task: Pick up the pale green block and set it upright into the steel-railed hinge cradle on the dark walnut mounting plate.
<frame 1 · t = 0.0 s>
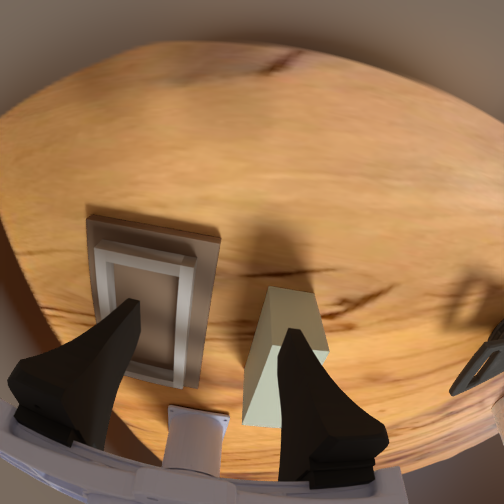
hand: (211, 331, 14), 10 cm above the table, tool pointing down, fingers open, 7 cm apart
white cup: (502, 400, 39), on the table
mounting plate: (149, 313, 26), on the table
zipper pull: (499, 331, 29), on the table
pale green block: (275, 335, 27), on the table
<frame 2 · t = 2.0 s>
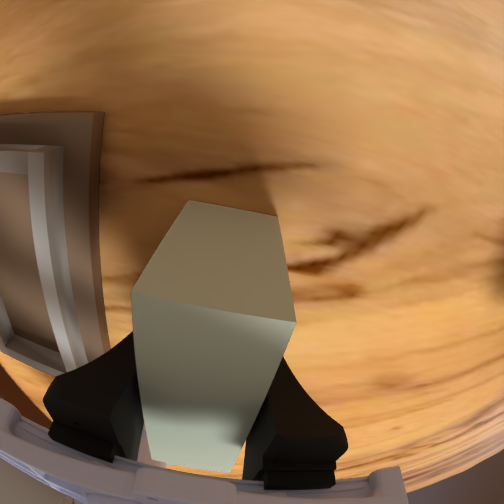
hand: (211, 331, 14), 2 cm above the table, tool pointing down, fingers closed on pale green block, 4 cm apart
mounting plate: (29, 262, 14), on the table
pale green block: (215, 306, 15), on the table, touching gripper
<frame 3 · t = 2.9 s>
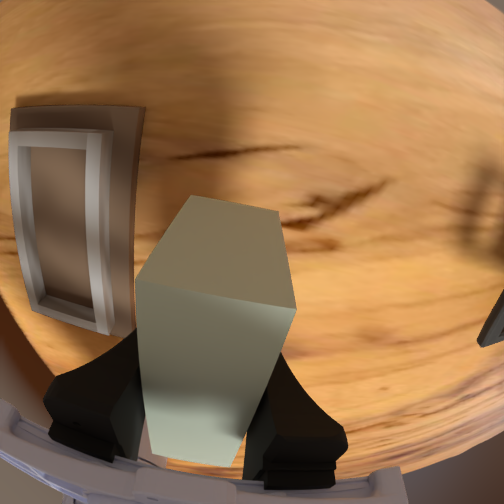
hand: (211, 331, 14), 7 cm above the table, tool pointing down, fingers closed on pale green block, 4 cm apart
mounting plate: (70, 226, 19), on the table
pale green block: (216, 300, 16), point 5 cm above the table, touching gripper
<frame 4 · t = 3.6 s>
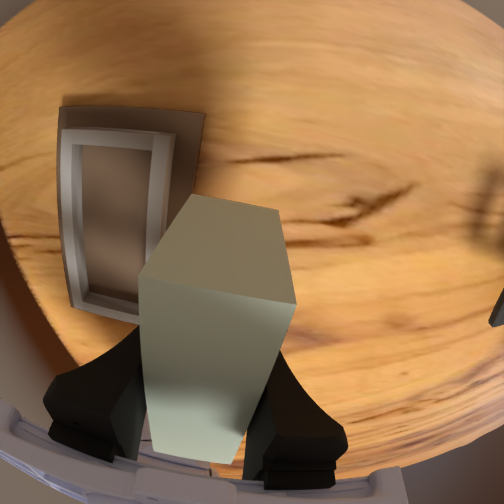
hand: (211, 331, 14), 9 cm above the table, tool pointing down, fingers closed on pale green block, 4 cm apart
mounting plate: (120, 224, 21), on the table
pale green block: (217, 298, 16), point 7 cm above the table, touching gripper
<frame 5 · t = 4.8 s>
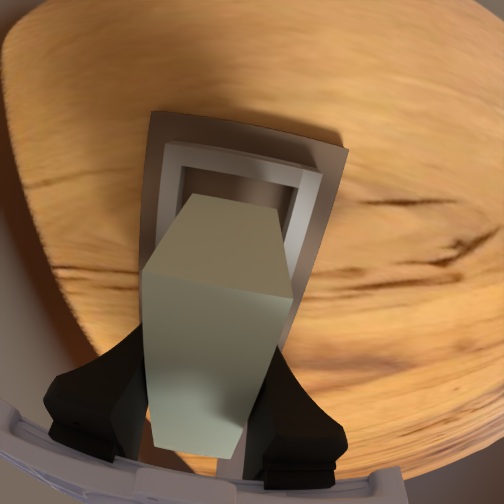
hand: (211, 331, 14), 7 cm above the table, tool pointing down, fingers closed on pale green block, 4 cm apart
mounting plate: (223, 263, 20), on the table
pale green block: (217, 296, 16), point 4 cm above the table, touching gripper
when the fingers open (4 cm above the table, at t = 5.7 s): pale green block stays where it is, resting on mounting plate.
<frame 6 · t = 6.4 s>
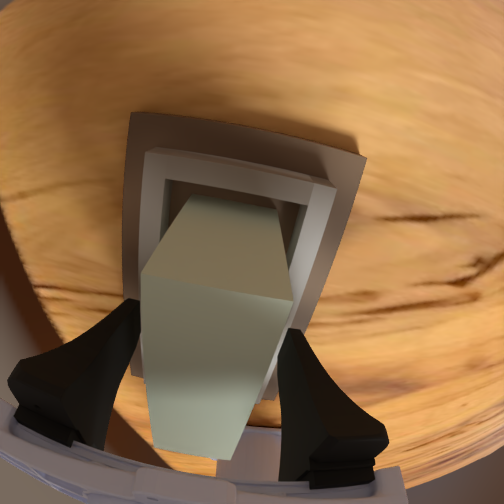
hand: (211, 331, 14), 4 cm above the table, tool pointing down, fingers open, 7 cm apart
mounting plate: (218, 287, 17), on the table
pale green block: (216, 296, 16), point 1 cm above the table, touching mounting plate
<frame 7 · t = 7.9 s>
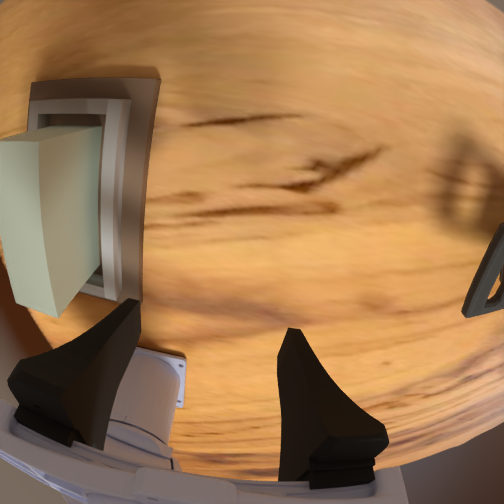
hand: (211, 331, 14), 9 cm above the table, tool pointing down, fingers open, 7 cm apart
mounting plate: (82, 193, 20), on the table
pale green block: (76, 197, 19), point 1 cm above the table, touching mounting plate
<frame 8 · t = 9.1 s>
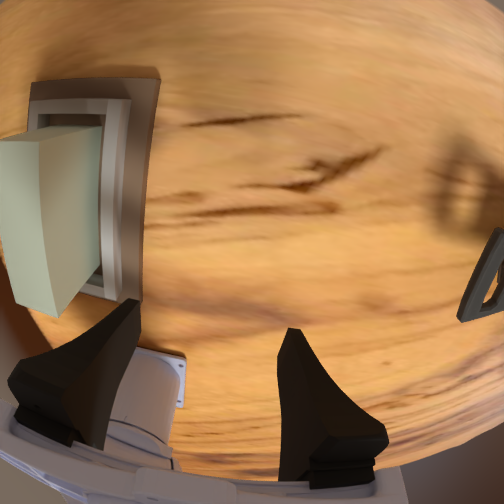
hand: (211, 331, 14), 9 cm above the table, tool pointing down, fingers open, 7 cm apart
mounting plate: (82, 193, 20), on the table
pale green block: (76, 197, 19), point 1 cm above the table, touching mounting plate
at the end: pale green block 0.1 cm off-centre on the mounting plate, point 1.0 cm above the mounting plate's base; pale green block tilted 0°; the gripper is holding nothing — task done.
